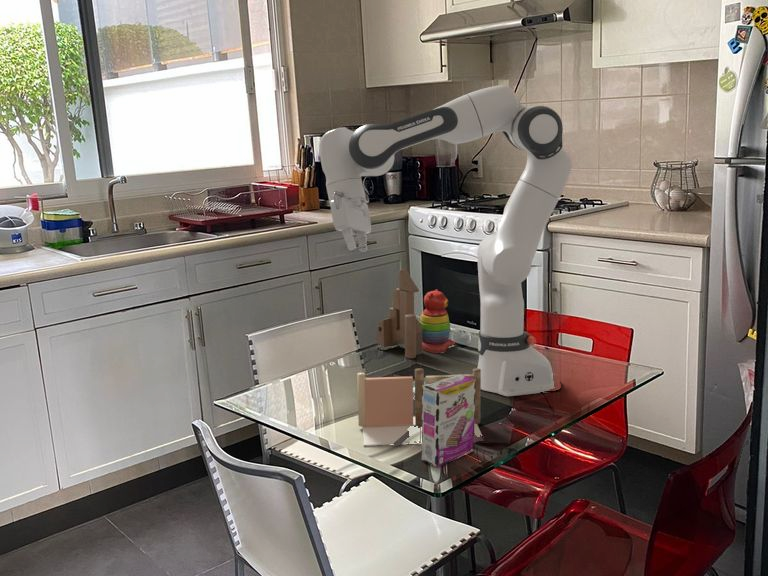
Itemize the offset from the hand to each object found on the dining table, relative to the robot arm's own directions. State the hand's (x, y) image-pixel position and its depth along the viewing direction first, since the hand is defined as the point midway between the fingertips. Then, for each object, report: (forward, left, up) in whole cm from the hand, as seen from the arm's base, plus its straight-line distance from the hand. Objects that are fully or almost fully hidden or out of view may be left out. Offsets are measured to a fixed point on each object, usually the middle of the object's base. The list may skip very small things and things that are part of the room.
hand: (358, 250), depth 187 cm
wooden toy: (-13, -37, -38) cm, 54 cm away
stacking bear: (-24, -40, -38) cm, 60 cm away
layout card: (-13, +23, -37) cm, 46 cm away
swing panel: (-5, +21, -37) cm, 43 cm away
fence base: (-19, +21, -37) cm, 47 cm away
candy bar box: (-17, +38, -38) cm, 56 cm away
